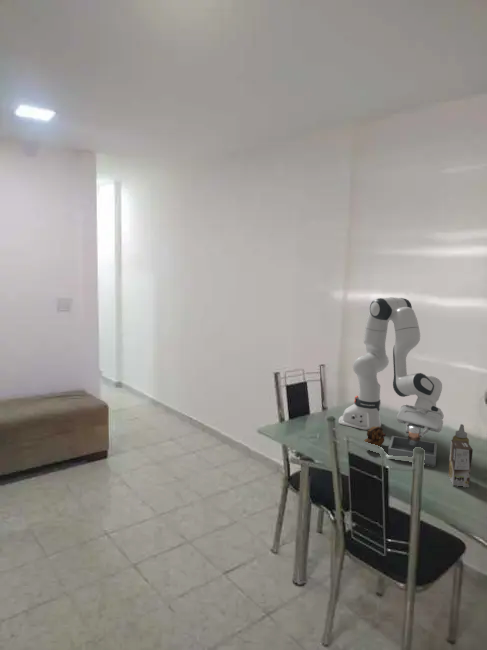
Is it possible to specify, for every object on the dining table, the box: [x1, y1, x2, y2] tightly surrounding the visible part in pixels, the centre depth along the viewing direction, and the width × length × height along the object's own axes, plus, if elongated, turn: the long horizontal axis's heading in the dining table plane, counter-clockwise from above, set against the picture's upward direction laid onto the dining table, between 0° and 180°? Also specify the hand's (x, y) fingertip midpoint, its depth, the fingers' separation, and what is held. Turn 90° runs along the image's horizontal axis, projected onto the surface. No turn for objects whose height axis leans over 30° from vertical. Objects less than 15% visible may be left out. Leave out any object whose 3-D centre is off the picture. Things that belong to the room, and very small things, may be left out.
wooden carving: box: [363, 426, 387, 447], centre depth 223 cm, size 16×5×10 cm, turn 138°
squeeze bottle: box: [449, 423, 470, 456], centre depth 207 cm, size 8×8×18 cm
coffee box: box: [447, 439, 474, 488], centre depth 191 cm, size 9×6×16 cm
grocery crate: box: [387, 435, 438, 468], centre depth 215 cm, size 20×16×5 cm
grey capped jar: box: [407, 425, 422, 446], centre depth 214 cm, size 5×5×8 cm
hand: (413, 434), depth 213 cm, fingers closed on grey capped jar, 5 cm apart
